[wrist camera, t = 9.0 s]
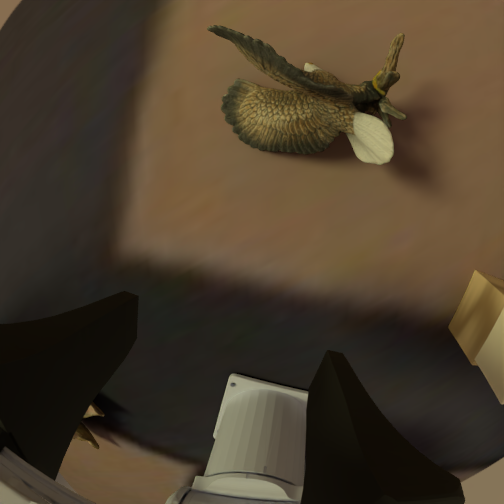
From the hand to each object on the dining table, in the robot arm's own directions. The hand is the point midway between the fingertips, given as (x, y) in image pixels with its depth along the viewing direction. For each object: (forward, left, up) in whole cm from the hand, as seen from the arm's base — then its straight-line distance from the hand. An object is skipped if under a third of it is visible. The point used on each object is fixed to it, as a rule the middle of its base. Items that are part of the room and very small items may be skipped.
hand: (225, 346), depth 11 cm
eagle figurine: (+10, 0, -11) cm, 15 cm away
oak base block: (+1, -18, -11) cm, 21 cm away
